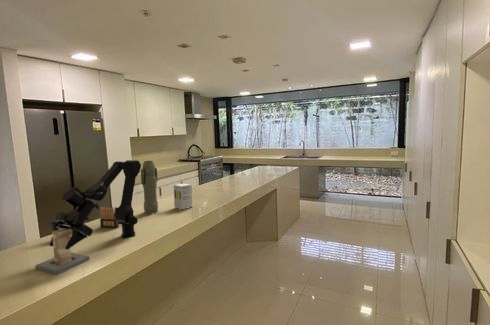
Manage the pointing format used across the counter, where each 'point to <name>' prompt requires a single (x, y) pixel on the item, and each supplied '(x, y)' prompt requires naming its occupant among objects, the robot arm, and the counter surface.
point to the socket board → (55, 269)
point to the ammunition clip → (108, 218)
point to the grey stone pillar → (149, 187)
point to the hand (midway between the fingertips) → (58, 247)
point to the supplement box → (183, 196)
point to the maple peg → (61, 246)
